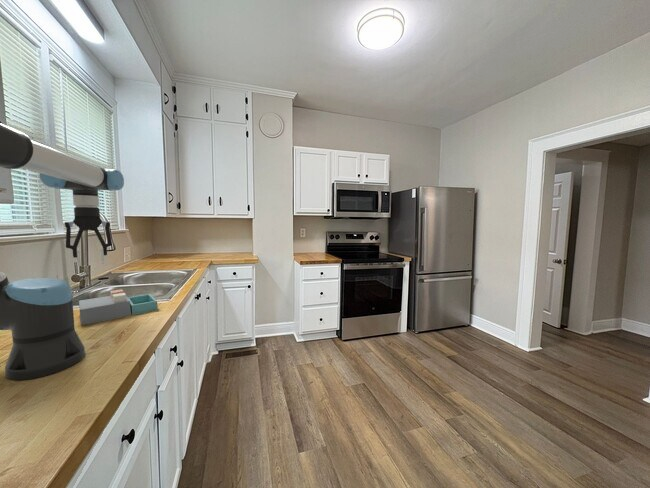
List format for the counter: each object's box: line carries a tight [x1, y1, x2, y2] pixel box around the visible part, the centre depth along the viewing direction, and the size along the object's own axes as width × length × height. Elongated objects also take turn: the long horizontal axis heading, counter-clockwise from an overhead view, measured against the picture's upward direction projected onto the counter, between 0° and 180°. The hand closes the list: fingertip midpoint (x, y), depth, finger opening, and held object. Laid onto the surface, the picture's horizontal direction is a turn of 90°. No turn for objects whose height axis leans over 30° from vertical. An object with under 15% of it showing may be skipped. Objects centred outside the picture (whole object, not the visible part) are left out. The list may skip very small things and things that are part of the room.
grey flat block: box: [78, 295, 132, 326], centre depth 108 cm, size 15×14×6 cm
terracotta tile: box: [110, 288, 124, 299], centre depth 113 cm, size 4×4×2 cm
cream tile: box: [112, 292, 127, 303], centre depth 108 cm, size 4×4×2 cm
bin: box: [127, 293, 158, 316], centre depth 117 cm, size 9×14×4 cm, turn 44°
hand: (91, 264), depth 107 cm, fingers open, 6 cm apart
